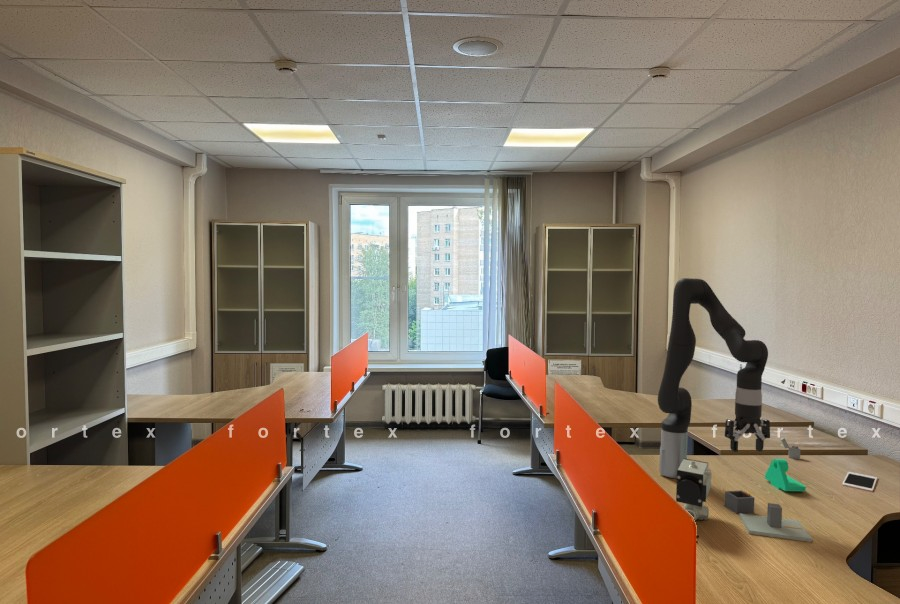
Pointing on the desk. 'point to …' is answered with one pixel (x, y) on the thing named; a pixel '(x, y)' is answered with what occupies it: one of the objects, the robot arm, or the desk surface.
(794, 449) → the lighter
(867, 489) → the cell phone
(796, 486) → the camera mount
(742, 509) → the grey open box
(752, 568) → the desk surface
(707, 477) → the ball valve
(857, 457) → the desk surface
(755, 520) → the grey base with post
